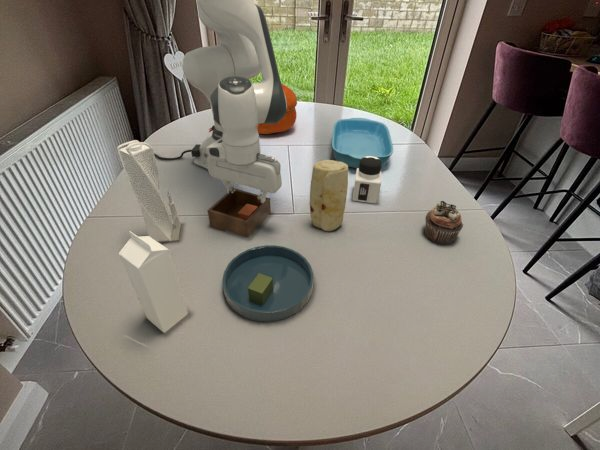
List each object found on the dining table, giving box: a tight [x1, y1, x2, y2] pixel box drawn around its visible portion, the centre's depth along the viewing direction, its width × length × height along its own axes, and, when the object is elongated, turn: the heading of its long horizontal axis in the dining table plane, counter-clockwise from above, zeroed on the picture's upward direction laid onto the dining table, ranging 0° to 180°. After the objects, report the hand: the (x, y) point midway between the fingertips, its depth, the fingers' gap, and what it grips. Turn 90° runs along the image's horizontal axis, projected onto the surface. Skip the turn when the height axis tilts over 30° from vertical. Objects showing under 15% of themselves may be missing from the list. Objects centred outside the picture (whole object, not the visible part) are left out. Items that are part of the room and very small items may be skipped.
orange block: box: [238, 204, 258, 220], centre depth 93 cm, size 4×5×4 cm
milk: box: [118, 230, 189, 334], centre depth 63 cm, size 6×6×22 cm
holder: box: [207, 188, 272, 238], centre depth 94 cm, size 13×13×6 cm
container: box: [351, 156, 383, 204], centre depth 103 cm, size 8×8×13 cm
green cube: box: [248, 273, 273, 305], centre depth 73 cm, size 4×5×4 cm
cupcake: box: [424, 200, 464, 245], centre depth 89 cm, size 10×10×10 cm
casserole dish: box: [331, 117, 394, 169], centre depth 129 cm, size 37×22×7 cm, turn 174°
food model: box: [309, 159, 349, 232], centre depth 88 cm, size 10×7×20 cm
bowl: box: [221, 244, 315, 323], centre depth 76 cm, size 20×20×4 cm
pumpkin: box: [257, 83, 298, 135], centre depth 141 cm, size 23×23×20 cm
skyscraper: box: [116, 139, 182, 244], centre depth 81 cm, size 8×8×28 cm
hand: (246, 197), depth 90 cm, fingers open, 8 cm apart
